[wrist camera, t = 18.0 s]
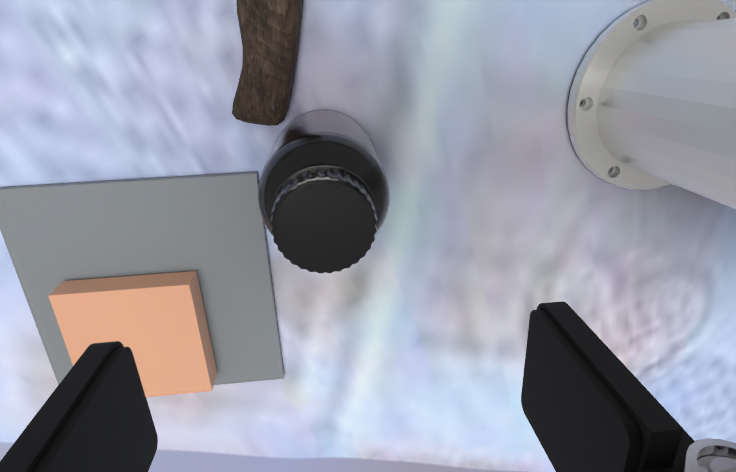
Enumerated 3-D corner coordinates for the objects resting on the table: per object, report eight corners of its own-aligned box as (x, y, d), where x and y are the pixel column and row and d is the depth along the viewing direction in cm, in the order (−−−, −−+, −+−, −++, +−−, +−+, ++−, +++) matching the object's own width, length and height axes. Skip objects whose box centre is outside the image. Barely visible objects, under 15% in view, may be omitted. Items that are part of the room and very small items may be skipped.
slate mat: (257, 171, 31) (256, 173, 31) (284, 373, 38) (283, 378, 37) (-9, 187, 30) (-15, 190, 29) (67, 393, 37) (64, 399, 36)
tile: (189, 284, 31) (212, 390, 34) (197, 269, 33) (218, 371, 37) (48, 295, 30) (86, 402, 34) (65, 279, 32) (99, 382, 36)
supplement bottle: (277, 100, 30) (253, 136, 19) (382, 117, 31) (416, 160, 20) (268, 201, 32) (241, 285, 21) (364, 213, 33) (387, 299, 22)
